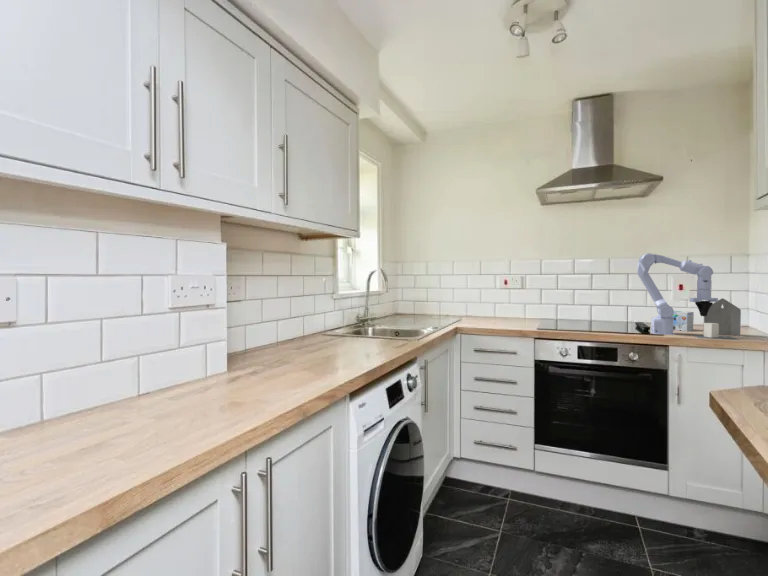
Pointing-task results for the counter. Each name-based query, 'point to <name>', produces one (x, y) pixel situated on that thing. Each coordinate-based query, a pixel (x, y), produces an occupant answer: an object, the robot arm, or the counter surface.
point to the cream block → (711, 330)
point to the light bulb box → (683, 320)
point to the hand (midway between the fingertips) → (703, 316)
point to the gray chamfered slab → (724, 317)
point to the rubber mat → (716, 338)
